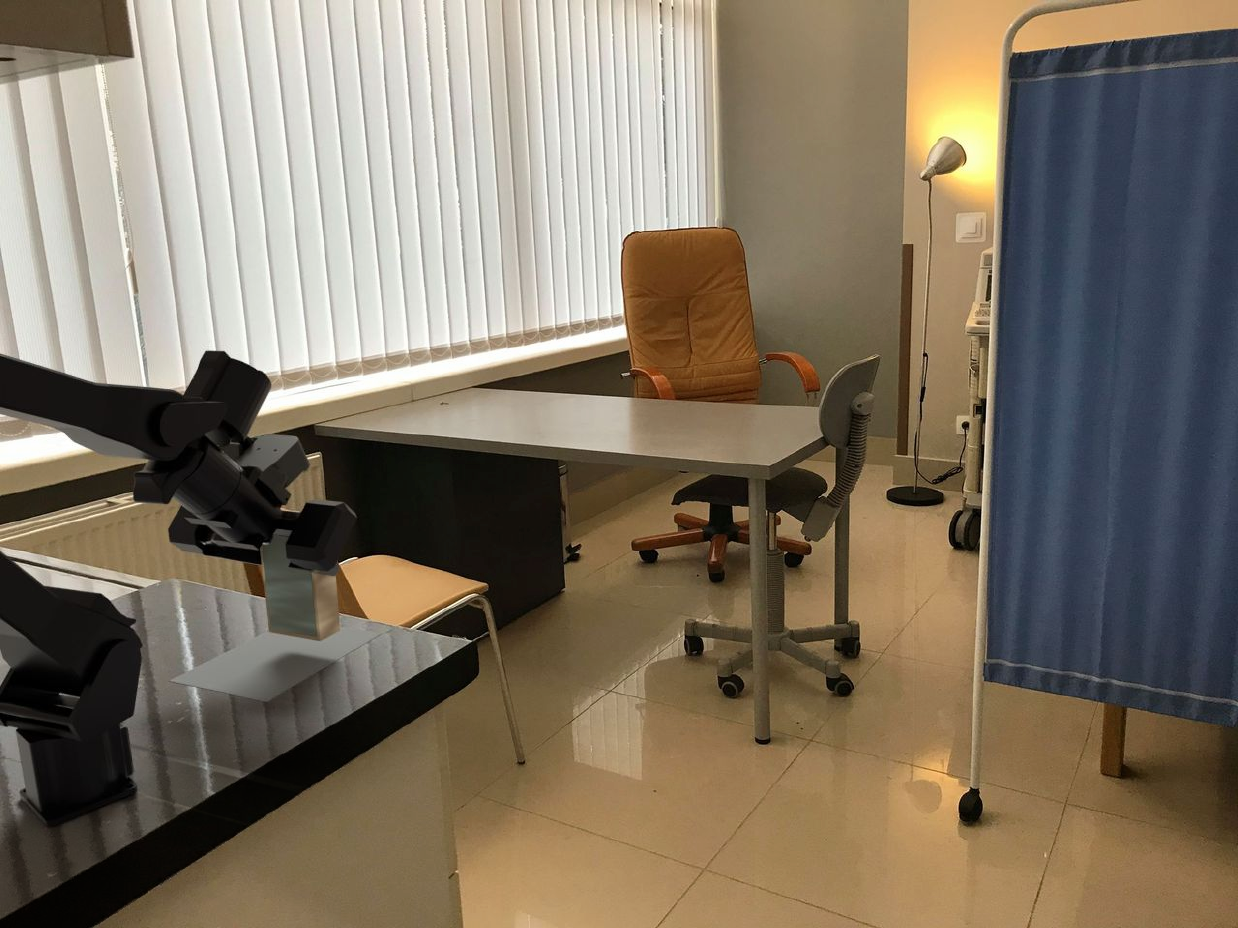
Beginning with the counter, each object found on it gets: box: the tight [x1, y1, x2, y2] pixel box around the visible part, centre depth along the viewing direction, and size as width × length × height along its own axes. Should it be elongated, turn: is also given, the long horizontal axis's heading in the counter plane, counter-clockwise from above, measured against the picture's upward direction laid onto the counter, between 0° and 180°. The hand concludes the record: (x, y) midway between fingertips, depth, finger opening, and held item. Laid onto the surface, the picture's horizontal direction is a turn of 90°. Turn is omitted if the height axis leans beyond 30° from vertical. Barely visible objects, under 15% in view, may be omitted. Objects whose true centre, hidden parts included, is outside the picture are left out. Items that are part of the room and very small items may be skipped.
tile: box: [260, 509, 341, 641], centre depth 99 cm, size 3×6×12 cm, turn 66°
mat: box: [169, 625, 383, 703], centre depth 100 cm, size 17×12×1 cm
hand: (308, 567), depth 100 cm, fingers closed on tile, 6 cm apart
